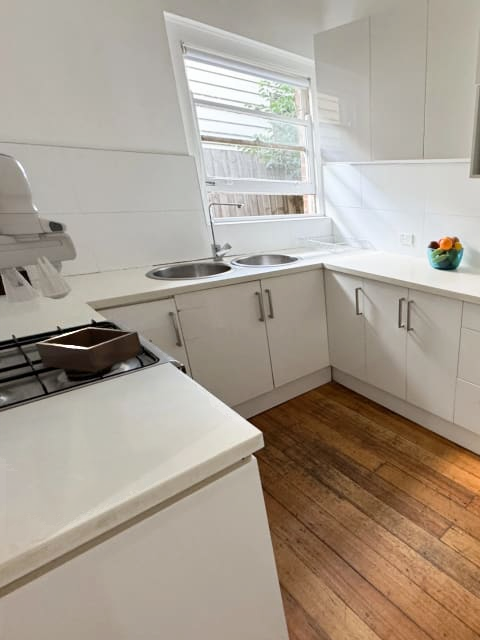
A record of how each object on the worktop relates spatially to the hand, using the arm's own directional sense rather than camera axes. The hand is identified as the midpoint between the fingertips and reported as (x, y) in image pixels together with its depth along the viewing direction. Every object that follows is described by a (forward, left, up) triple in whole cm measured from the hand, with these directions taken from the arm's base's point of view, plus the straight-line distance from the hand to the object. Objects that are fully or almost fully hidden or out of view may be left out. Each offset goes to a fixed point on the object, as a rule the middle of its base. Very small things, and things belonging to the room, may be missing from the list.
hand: (37, 282), depth 96 cm
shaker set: (0, 0, -5) cm, 5 cm away
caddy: (-4, -17, -18) cm, 25 cm away
